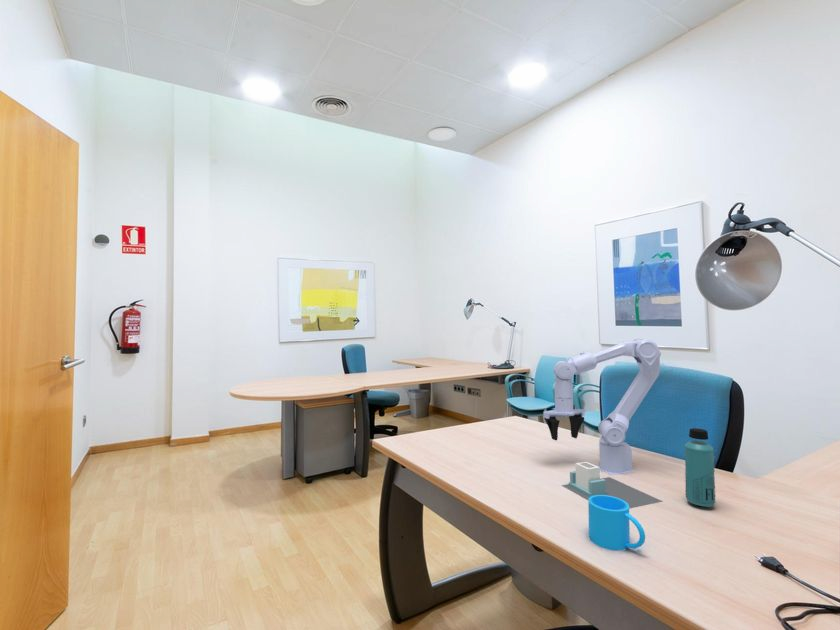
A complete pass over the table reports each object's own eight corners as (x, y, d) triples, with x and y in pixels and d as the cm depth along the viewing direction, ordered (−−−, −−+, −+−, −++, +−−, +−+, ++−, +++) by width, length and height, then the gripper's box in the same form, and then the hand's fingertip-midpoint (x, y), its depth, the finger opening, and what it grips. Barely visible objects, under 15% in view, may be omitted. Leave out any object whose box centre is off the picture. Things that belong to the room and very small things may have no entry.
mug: (581, 537, 90) (580, 500, 90) (602, 527, 94) (602, 492, 95) (634, 564, 80) (633, 522, 80) (655, 551, 84) (655, 512, 84)
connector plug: (586, 482, 118) (586, 461, 118) (599, 489, 113) (599, 467, 113) (575, 484, 116) (575, 463, 116) (588, 491, 111) (588, 469, 112)
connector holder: (585, 482, 120) (585, 469, 120) (607, 493, 112) (607, 479, 112) (568, 485, 117) (568, 472, 118) (590, 497, 109) (590, 482, 110)
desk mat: (609, 478, 124) (609, 477, 124) (662, 503, 107) (662, 501, 107) (561, 487, 117) (561, 485, 118) (609, 514, 101) (609, 512, 101)
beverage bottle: (707, 515, 100) (705, 434, 100) (679, 504, 106) (678, 427, 106) (721, 509, 103) (719, 430, 103) (693, 499, 109) (692, 425, 109)
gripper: (552, 400, 128) (552, 443, 128) (590, 398, 132) (591, 439, 132) (539, 397, 135) (540, 437, 135) (576, 394, 139) (577, 434, 139)
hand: (564, 438), depth 134 cm, fingers open, 7 cm apart
